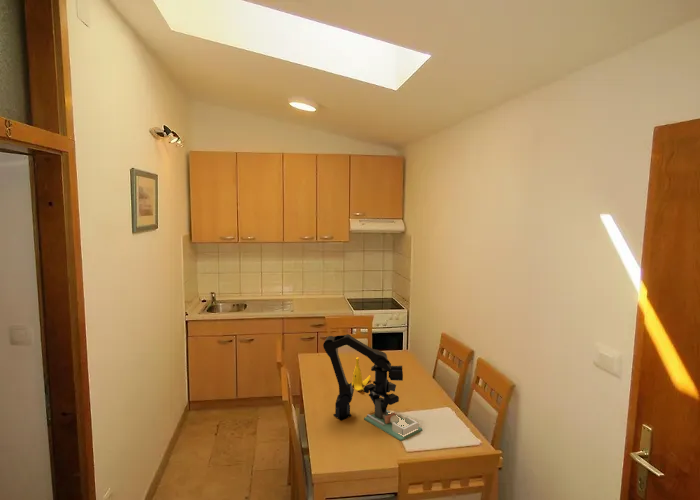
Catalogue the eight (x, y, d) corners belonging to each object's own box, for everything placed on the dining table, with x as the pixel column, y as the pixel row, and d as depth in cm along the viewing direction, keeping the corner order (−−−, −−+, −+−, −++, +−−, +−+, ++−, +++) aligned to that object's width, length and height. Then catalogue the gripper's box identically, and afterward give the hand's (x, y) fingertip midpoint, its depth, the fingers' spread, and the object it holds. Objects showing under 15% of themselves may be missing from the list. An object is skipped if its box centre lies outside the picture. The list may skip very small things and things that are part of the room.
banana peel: (362, 395, 224) (362, 364, 222) (338, 384, 238) (338, 355, 236) (382, 386, 236) (382, 357, 234) (358, 376, 249) (358, 349, 247)
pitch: (400, 441, 179) (400, 431, 179) (364, 419, 198) (364, 410, 197) (422, 430, 188) (422, 421, 187) (385, 410, 206) (385, 402, 206)
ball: (393, 427, 189) (395, 420, 188) (387, 422, 192) (389, 415, 191) (399, 424, 192) (401, 417, 191) (393, 419, 195) (395, 412, 194)
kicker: (386, 424, 191) (386, 407, 191) (373, 416, 199) (373, 400, 198) (395, 419, 195) (396, 403, 194) (382, 412, 202) (382, 396, 202)
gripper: (407, 381, 195) (406, 413, 197) (379, 369, 209) (379, 399, 211) (390, 387, 188) (390, 420, 190) (363, 374, 202) (362, 405, 204)
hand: (380, 410), depth 199 cm, fingers closed on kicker, 4 cm apart
